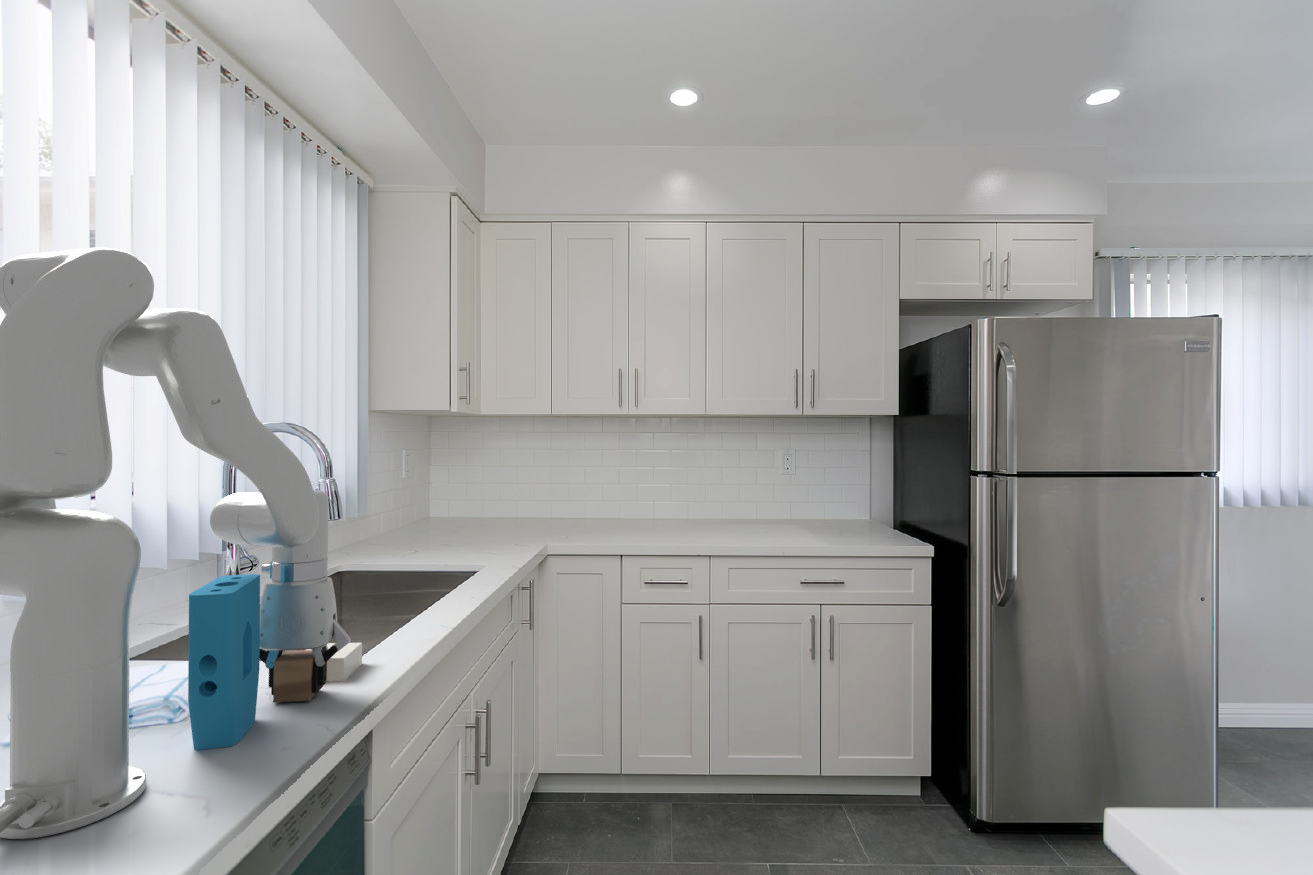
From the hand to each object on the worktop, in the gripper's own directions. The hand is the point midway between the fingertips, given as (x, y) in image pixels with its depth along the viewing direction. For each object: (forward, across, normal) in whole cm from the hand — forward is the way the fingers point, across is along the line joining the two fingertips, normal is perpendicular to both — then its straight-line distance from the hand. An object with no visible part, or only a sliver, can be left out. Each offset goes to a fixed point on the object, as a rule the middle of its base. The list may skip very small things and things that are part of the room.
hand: (297, 689), depth 100 cm
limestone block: (+1, +1, +10) cm, 11 cm away
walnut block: (+1, 0, 0) cm, 1 cm away
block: (+2, -5, -12) cm, 13 cm away
